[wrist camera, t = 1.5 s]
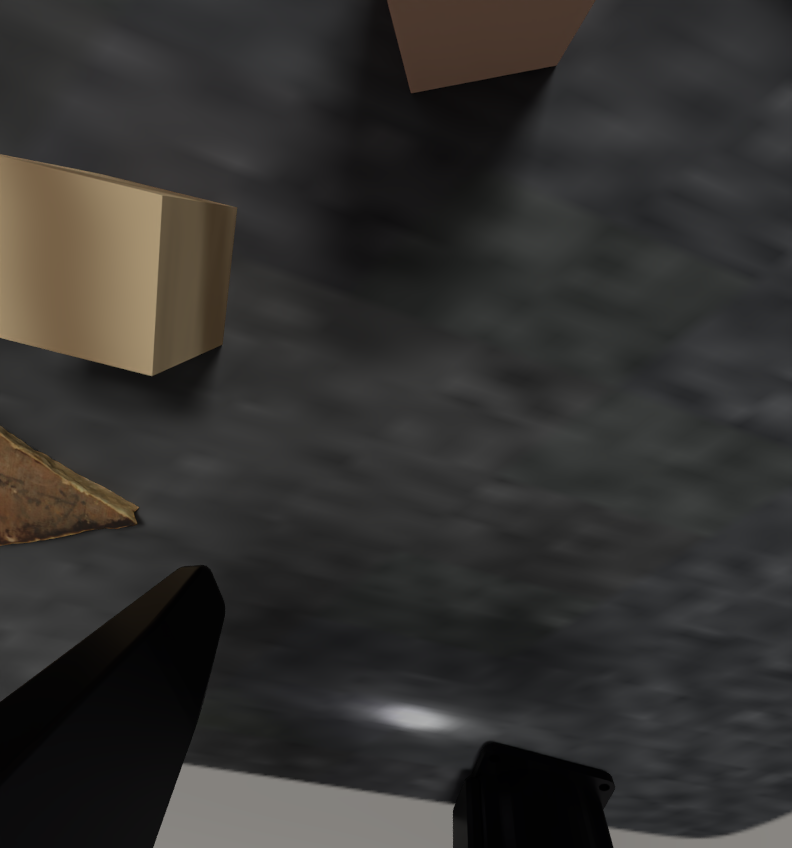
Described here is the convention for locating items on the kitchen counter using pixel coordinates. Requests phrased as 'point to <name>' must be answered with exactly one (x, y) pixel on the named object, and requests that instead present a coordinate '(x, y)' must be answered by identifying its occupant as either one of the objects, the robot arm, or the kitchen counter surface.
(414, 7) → the terracotta block
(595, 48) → the kitchen counter surface
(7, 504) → the shard
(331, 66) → the kitchen counter surface
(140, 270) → the honey oak cube
